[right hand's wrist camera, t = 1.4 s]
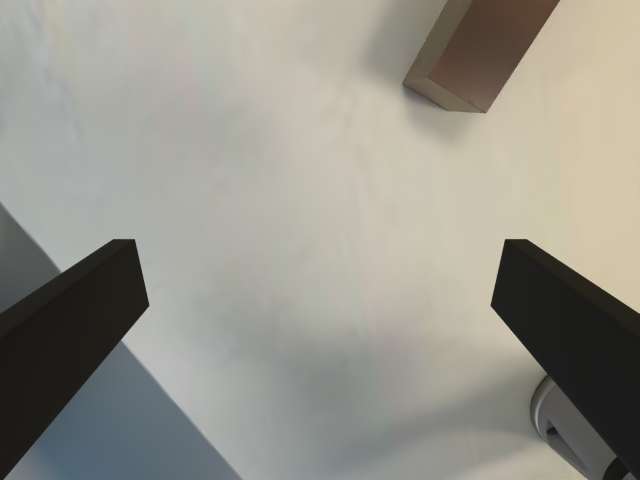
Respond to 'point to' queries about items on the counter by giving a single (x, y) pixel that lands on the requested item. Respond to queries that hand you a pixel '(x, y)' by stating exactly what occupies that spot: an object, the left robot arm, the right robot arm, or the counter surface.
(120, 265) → the right robot arm
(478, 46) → the plank
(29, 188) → the counter surface
